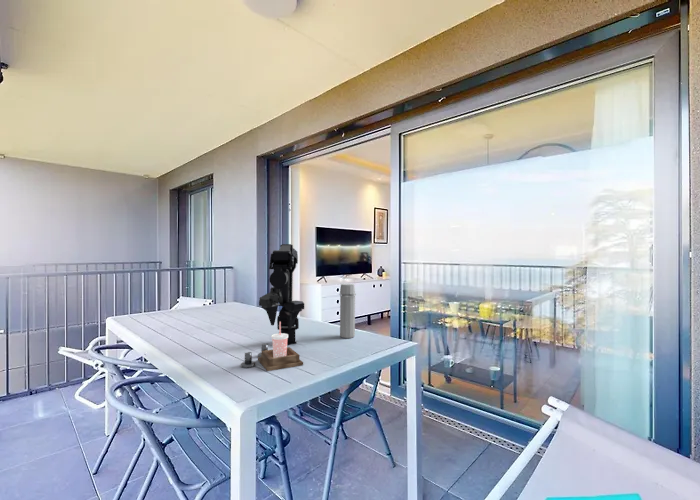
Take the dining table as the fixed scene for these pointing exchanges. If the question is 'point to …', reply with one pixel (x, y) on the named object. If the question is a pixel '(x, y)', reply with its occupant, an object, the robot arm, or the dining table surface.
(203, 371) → the dining table surface
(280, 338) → the beverage cup
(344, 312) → the water bottle
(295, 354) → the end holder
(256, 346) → the dining table surface
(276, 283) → the robot arm
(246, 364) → the knob
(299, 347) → the dining table surface
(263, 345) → the knob
